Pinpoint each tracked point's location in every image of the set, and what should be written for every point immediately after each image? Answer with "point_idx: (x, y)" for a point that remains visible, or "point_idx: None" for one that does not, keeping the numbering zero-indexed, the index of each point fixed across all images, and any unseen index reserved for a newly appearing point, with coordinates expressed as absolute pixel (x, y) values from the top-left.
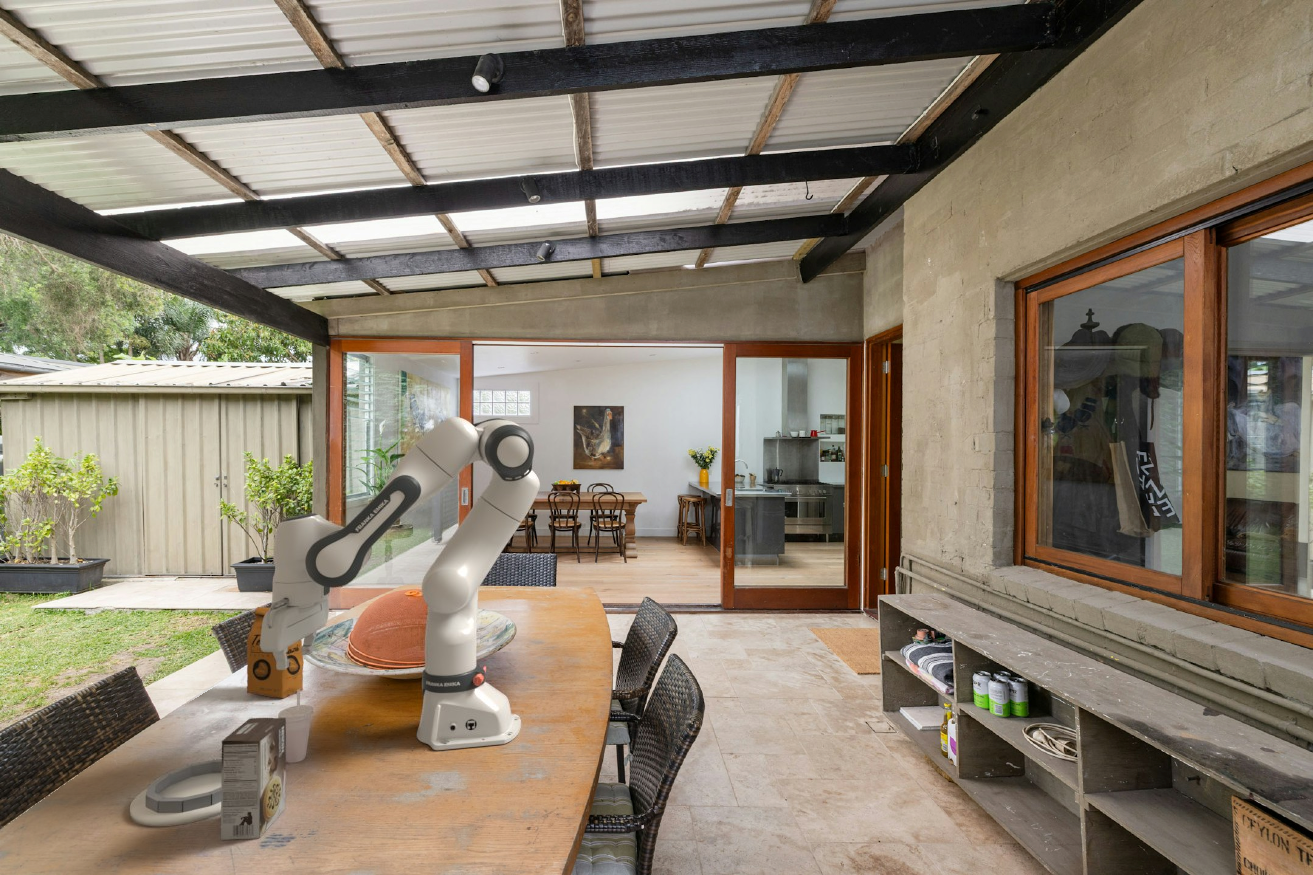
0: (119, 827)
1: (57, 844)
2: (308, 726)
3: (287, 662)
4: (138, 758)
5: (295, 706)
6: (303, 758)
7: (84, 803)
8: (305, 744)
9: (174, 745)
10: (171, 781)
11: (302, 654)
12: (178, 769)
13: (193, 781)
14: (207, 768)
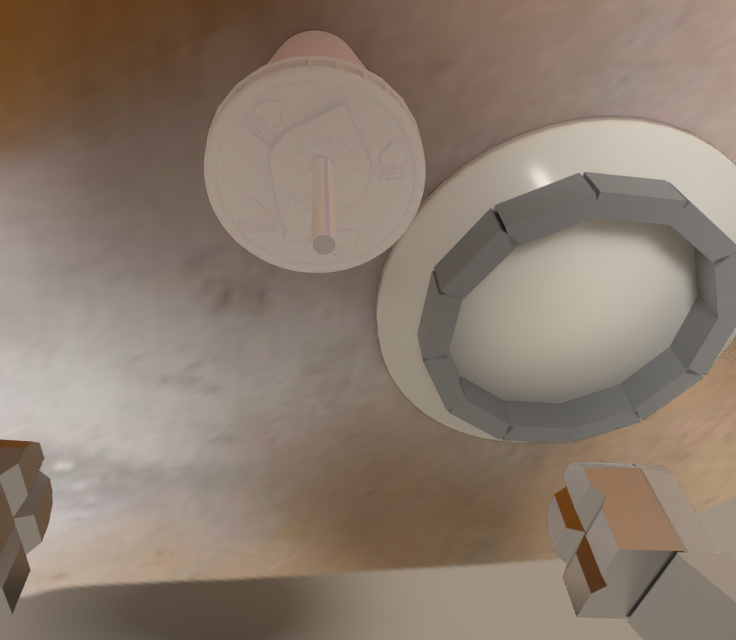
0: (681, 399)
1: (703, 466)
2: (329, 55)
3: (658, 516)
4: (265, 536)
5: (227, 216)
6: (331, 34)
7: (508, 513)
8: (333, 42)
9: (179, 506)
10: (505, 406)
11: (51, 497)
12: (480, 422)
13: (496, 355)
14: (449, 355)
